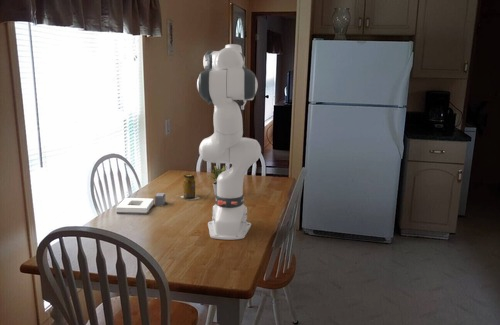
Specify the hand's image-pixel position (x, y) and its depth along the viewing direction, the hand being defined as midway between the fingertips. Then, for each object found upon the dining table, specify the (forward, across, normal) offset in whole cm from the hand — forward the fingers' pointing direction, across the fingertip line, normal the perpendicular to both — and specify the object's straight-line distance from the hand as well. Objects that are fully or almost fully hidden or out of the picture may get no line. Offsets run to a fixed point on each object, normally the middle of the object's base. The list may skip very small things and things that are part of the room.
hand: (232, 109), depth 212 cm
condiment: (+47, -22, +6) cm, 52 cm away
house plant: (+47, -7, +12) cm, 49 cm away
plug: (+47, -35, -5) cm, 59 cm away
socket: (+47, -45, -13) cm, 66 cm away
